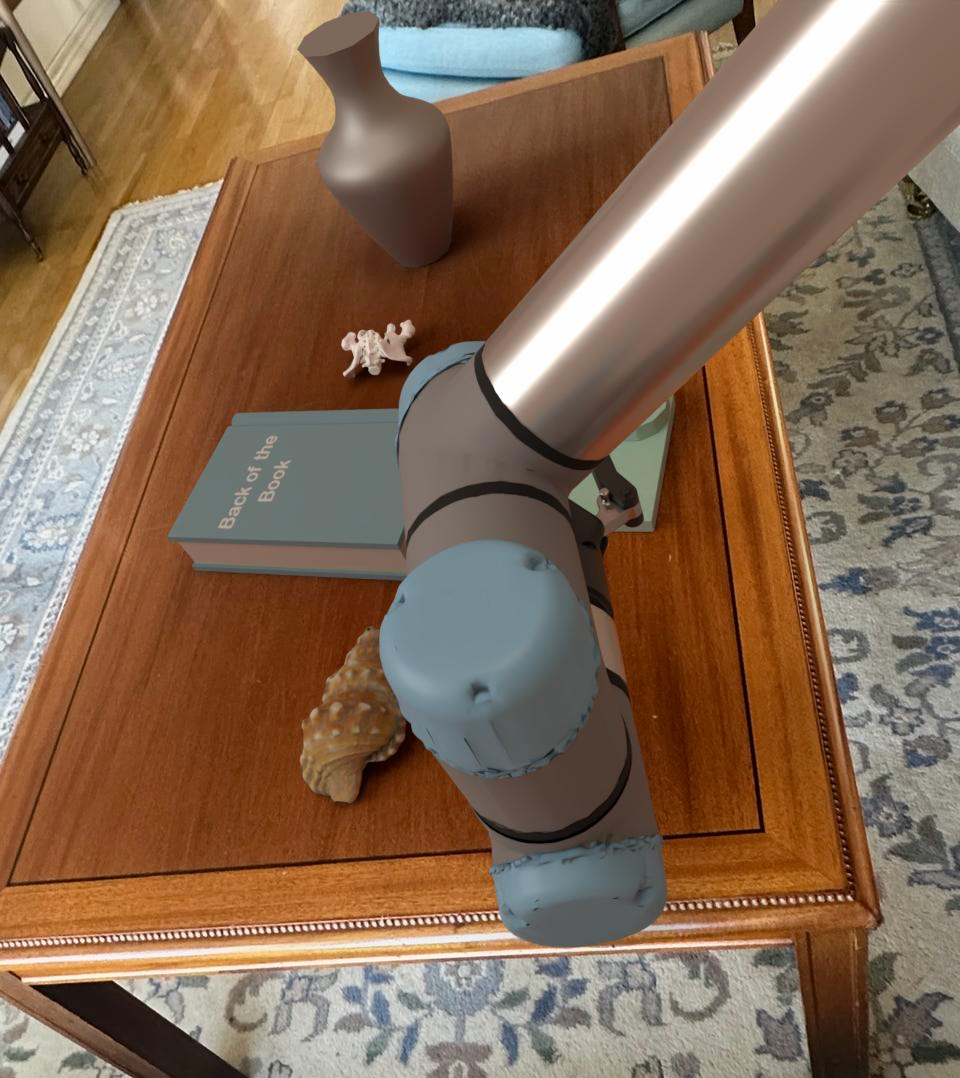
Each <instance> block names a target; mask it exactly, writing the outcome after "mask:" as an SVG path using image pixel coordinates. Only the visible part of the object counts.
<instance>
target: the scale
mask: <svg viewBox="0 0 960 1078" xmlns="http://www.w3.org/2000/svg"><path fill="white" fill-rule="evenodd" d="M676 407H677V405H676V399H675V394H673V395H672V396H671V397H670V398H669V399H668V400H667V401H666V402H665V403H663V404H662V405H661V406H660V407H659V408H658V409H657V410H656V411H655V412H654V413H653V414H652V415H651V416H650V417H649V418H647V419H646V420H645V421H644V422H643V423H642V424H641V425H640V426H639V427H638V428H637V429H636V430H635V431H634V432H633V433H632V434H630V435H629V436H628V437H627V438H626V439H625V440H624V441H623V442H622V443H621V444H620V445H619V446H618V447H617V448H616V449H615V450H613V451H612V452H611V453H610V454H609V455H610V457H611V459H612V461H613V464H614V466H615V468H616V471H617V472H618V473H619V474H621V475H622V476H623V477H624V478H625V479H627V480H628V481H629V482H630V483H631V484H632V485H634V486H635V487H636V489H637V492H638V496H639V500H640V504H641V508H642V511H643V515H644V521H643V523H642V524H641V525H639V526H637V527H633V528H631V527H628V526H626V525H625V524H623V525H622V526H621V527H619V528H618V529H616V530H615V531H614V532H616V533H617V532H618V533H621V532H623V533H624V532H626V533H646V532H647V533H654V532H655V530H656V525H657V519H658V513H659V507H660V501H661V495H662V490H663V484H664V483H663V482H664V477H665V471H666V465H667V460H668V453H669V448H670V442H671V437H672V432H673V431H672V430H673V425H674V418H675V412H676ZM599 495H600V493H599V489H598V487H597V485H596V482H595V480H594V477H593V475H592V473H590V474H589V475H588V476H587V477H586V478H585V479H584V480H583V481H582V482H581V483H580V484H579V485H578V486H576V487H575V488H574V489H573V490H572V491H571V493H570V494H569V497H568V498H569V499H570V500H572V501H573V502H575V503H576V504H578V505H580V506H581V507H583V508H584V509H586V510H587V511H589V512H590V513H592V514H593V515H596V514H597V513H598V512H599V508H598V505H597V498H598V496H599ZM614 532H613V533H614Z"/></svg>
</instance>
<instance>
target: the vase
mask: <svg viewBox="0 0 960 1078" xmlns="http://www.w3.org/2000/svg"><path fill="white" fill-rule="evenodd" d="M296 50H297V51H298V52H299V53H300V54H301V55H302V57H304V59H305V60H306V61H307V62H308V63H309V64H310V66H311V67H312V69H314V70H315V71H316V73H317V74H318V75H319V76H320V78H322V80H323V81H324V83H325V85H326V86H327V87H328V89H329V90H330V92H331V95H332V97H333V101H334V102H333V103H334V110H335V111H334V113H335V114H334V115H335V116H334V121H333V122H334V123H333V124H332V126H331V128H330V130H329V132H328V133H327V135H326V136H325V138H324V140H323V141H322V144H321V145H320V146H321V147H320V149H319V151H318V157H317V167H318V172H319V176H320V178H321V180H322V182H323V183H324V184H325V186H326V188H327V189H328V191H329V192H330V193H331V194H332V196H333V197H334V198H335V200H336V201H338V203H339V204H340V205H341V206H342V207H343V209H345V211H346V212H347V213H348V214H349V215H350V216H351V217H352V219H353V220H354V221H355V222H356V223H357V224H358V225H359V227H360V228H362V230H363V231H364V232H365V233H366V234H367V235H368V236H369V237H370V239H372V240H373V241H374V242H375V243H376V244H377V245H378V246H379V247H380V248H381V249H382V250H384V251H385V253H387V254H388V255H389V256H391V258H393V259H394V260H395V261H396V262H397V263H399V265H401V267H403V268H416V269H418V268H421V267H425V266H427V265H430V264H432V263H435V262H437V261H438V260H439V259H440V258H442V257H443V256H444V255H445V254H446V253H447V252H449V250H450V247H451V243H452V230H453V219H454V170H453V167H454V166H453V165H454V164H453V146H452V135H451V128H450V125H449V122H448V120H447V117H446V115H445V114H444V113H443V111H441V109H439V107H437V106H436V105H434V104H433V103H431V102H429V101H427V100H424V99H420V98H417V97H415V96H408V95H404V94H402V93H400V92H399V91H398V90H397V89H395V88H394V86H392V84H391V83H390V82H389V80H388V79H387V77H386V76H385V73H384V71H383V67H382V62H381V61H382V60H381V54H380V17H379V16H378V15H376V14H375V13H373V12H372V11H370V10H368V11H357V12H348V13H345V14H343V15H340V16H338V17H336V18H332V19H330V20H327V21H325V22H323V23H322V24H320V25H318V26H317V27H315V28H314V29H313V30H312V31H310V32H308V33H307V34H306V35H304V36H303V38H302V40H301V42H300V44H299V45H298V47H297V48H296Z"/></svg>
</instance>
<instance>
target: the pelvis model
mask: <svg viewBox="0 0 960 1078" xmlns="http://www.w3.org/2000/svg"><path fill="white" fill-rule="evenodd" d="M399 327H400V328H401V333H400V334H397V333H396V326H395V324H394V323H393V322H391V323H390V322H389V324H387V327H386V332H384V338H382V337H381V335H380V333H379V332H377V331H375V329H369V330H365V329H361V330H359V331H358V333H356V332H354V331H349V332H347V334H346V335H345V337H343V339H342V340H341V343H340V344H341V345H340V346H341V348H342V350H344V351H345V352H348V351H349V352H350V351H351V352H352V355H353V359H352V362H351V364H350V366H349V367H348V368H347V369H346V370H345V371H343V372H342V375H343V377H345V378H349V379H355V378H356V369H357V367H358V366H359V365H361V367H362V368H365V367H366V368H368V372H369V374H371V375H372V376H378V375H379V374H380V373H381V372H382V364H383V363H386V360H385V358H387V359H389V360H392V361H397V362H405V363H406V366H407V367H410V366H411V365H412V364H413V358H412V357H411V356H408V355H407V354H406V351H405V347H404V346H405V344H406V342H407V340H408V339H412V338H413V336H414V335H415V334H416V327H415V326H414V325H413V321H412V320H411V319H407V320H405V321H402V322H400V324H399ZM356 339H358V342H357V341H356ZM382 358H383V359H382Z"/></svg>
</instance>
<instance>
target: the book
mask: <svg viewBox="0 0 960 1078" xmlns="http://www.w3.org/2000/svg"><path fill="white" fill-rule="evenodd" d="M398 416H399V407H397V408H367V409H366V408H365V409H330V410H329V409H328V410H326V409H324V410H292V411H291V410H289V411H256V412H235V413H234V415H233V416H232V418H231V425H230V426H229V425H228V426H227V428H226V429H225V431H224V433H223V435H222V436H221V438H220V440H219V442H218V444H217V446H216V447H215V449H214V451H213V452H212V455H211V456H210V458H209V460H208V462H207V463H206V465H205V467H204V468H203V470H202V473H201V474H200V476H199V478H198V479H197V482H196V483H195V486H194V487H193V489H192V490H191V492H190V494H189V496H188V497H187V500H186V501H185V503H184V505H183V507H182V509H181V511H180V512H179V514H178V516H177V518H176V520H175V522H174V523H173V525H172V527H171V529H170V530H169V532H168V534H167V536H166V537H167V539H168V540H169V541H170V542H172V543H178V544H179V545H180V546H181V548H182V549H183V550H184V551H185V552H186V554H187V555H188V557H190V559H192V561H193V562H192V565H191V567H192V569H193V570H194V571H196V572H215V573H237V574H255V575H256V574H257V575H274V576H275V575H277V576H301V577H319V578H339V579H340V578H342V579H359V580H360V579H361V580H362V579H364V580H382V581H401V582H403V581H404V579H405V578H406V577H407V567H406V542H405V530H404V519H403V507H402V495H401V483H400V472H399V467H398V462H397V455H396V448H395V438H396V436H397V431H398Z"/></svg>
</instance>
